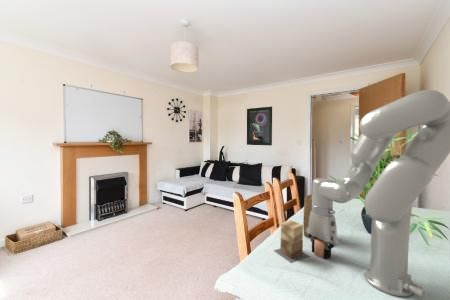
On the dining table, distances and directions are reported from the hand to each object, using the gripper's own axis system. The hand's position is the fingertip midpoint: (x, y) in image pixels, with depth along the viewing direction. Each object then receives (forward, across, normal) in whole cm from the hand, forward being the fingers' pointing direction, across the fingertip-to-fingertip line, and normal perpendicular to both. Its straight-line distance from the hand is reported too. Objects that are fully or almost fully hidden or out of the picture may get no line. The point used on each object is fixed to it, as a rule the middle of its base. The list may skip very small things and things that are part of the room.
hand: (320, 254), depth 85 cm
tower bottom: (0, +6, +10) cm, 12 cm away
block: (+1, +13, -12) cm, 18 cm away
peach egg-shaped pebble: (+1, 0, 0) cm, 1 cm away
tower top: (-6, +6, +10) cm, 13 cm away
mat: (0, +6, +10) cm, 12 cm away
